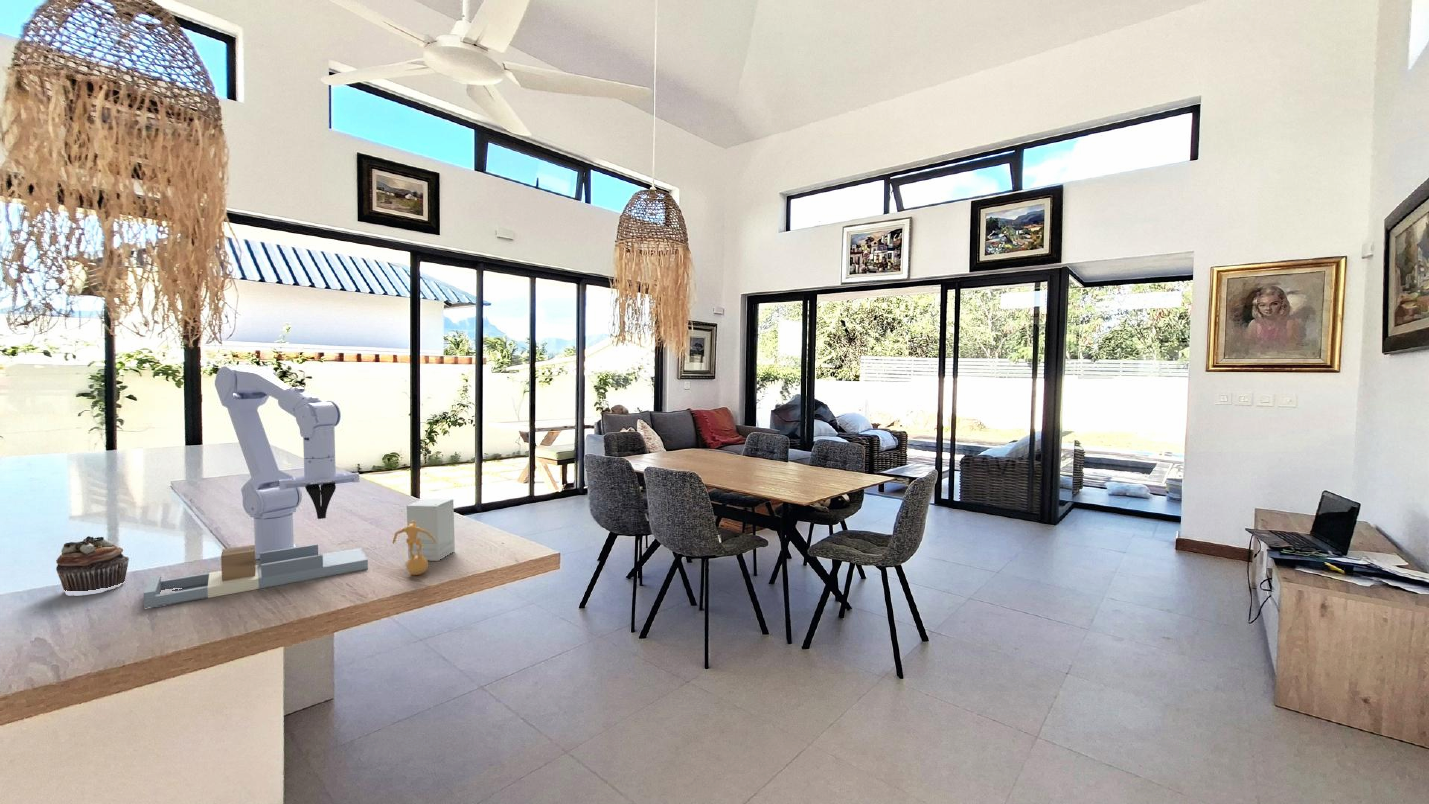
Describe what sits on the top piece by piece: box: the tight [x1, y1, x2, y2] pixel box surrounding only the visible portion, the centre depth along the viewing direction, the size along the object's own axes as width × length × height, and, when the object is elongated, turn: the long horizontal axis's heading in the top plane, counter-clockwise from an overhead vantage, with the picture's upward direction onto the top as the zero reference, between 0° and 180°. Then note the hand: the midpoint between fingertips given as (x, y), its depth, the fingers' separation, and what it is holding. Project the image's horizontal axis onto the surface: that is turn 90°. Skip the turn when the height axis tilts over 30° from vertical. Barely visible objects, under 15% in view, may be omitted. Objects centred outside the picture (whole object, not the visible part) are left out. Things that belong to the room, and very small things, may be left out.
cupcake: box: [55, 535, 130, 591], centre depth 112 cm, size 10×10×10 cm
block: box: [220, 544, 257, 581], centre depth 115 cm, size 5×5×5 cm
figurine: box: [392, 520, 436, 576], centre depth 121 cm, size 8×6×12 cm
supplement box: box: [406, 497, 456, 562], centre depth 134 cm, size 7×7×13 cm
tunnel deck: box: [143, 543, 369, 608], centre depth 118 cm, size 10×34×4 cm, turn 129°
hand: (321, 517), depth 128 cm, fingers closed
